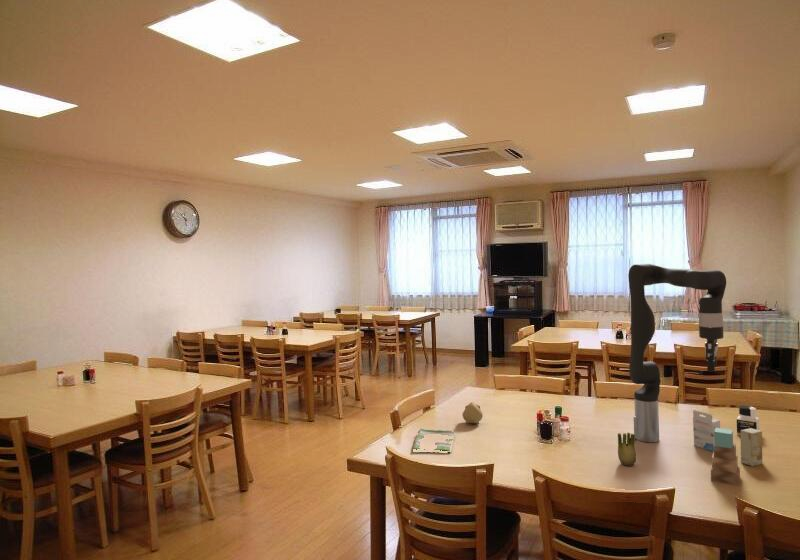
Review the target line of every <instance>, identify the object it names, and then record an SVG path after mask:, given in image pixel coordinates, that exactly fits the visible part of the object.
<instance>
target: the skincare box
mask: <svg viewBox="0 0 800 560" xmlns="http://www.w3.org/2000/svg"><path fill="white" fill-rule="evenodd" d="M740 463H742V464H745V465H749V466H751V467H754V466H759V465H761V464H763V431H762V430H760V429H759V430H756V429H752V428H749V429H744V430H741V435H740Z"/></svg>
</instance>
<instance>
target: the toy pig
mask: <svg viewBox="0 0 800 560" xmlns="http://www.w3.org/2000/svg"><path fill="white" fill-rule="evenodd" d="M483 414H484V413H483V411H482V410H481V406H480V405H479V404H476V403H475V402H470V403H468V404H467V405H466V406H465V409H464V410H463V412H462V418H463V420H464V421H465V424H472V423H474V424H480V423H479V421H480V422H481V420H482V418H483V417H484V415H483Z"/></svg>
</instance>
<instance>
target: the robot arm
mask: <svg viewBox="0 0 800 560" xmlns="http://www.w3.org/2000/svg"><path fill="white" fill-rule="evenodd" d="M627 278H628V286H629V288H628V289H629V295H630V296H629V298H630V353H629V354H630V356H629V365H628V373H629V378H630V381H631V382H632V383H633V384H636V385H642V386H641V387H640V388H639V389H637V390H635V392H634V393H633V399H634V416H633V434H634V435H635V438H634V440H637V441H640V442H643V443H644V442H645V443H657V442H659V441H660V419H659V418H660V417H659V395H660V391H661V390H660V388H661V372H660V368H659V366H658V364H657V363H656V362H654V361H650V360H649V361H644V355H645V351H646V350H647V347H648V346H649V344H650V343H651V341H652V340H653V337H654V334H655V332H656V329H655V328H656V323H655V322H656V320H655V319H656V318H655V314H654V312H653V310H652V308H651V307H650V305H649V303H648V302H647V299H646V295H645V286H651V285H657V284H669V285H671V286H676V287H682V288H690V289H694V290H700V291H701V290H702V291H707V292H706V295H703V296H701V297H700V298H699V303H698V305H699V306H698V307H699V308H698V309H699V315H698V333H699V334H698V336H699V338H701V339H706V342H705V343H704V349H705V352H704V354H705V361H706V366H707V367H706V369H707V372H710V373H711V372H712V373H713V372H715V370H716V367H717V366H718V365H717V363H718V361H717V357H718V353H719V342H718V340H721V339H724V316H723V302H722V301H723V299H724V295H725V293H726V291H725V290H726V288H727V278H726V275H725V274H724V272H722V271H721V270H717V269H714V270H713V269H712V270H696V269H692V268H667V267H663V266H660V265H656V264H652V263H636V264H633V265H631V266H630V268H629V271H628V277H627Z"/></svg>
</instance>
